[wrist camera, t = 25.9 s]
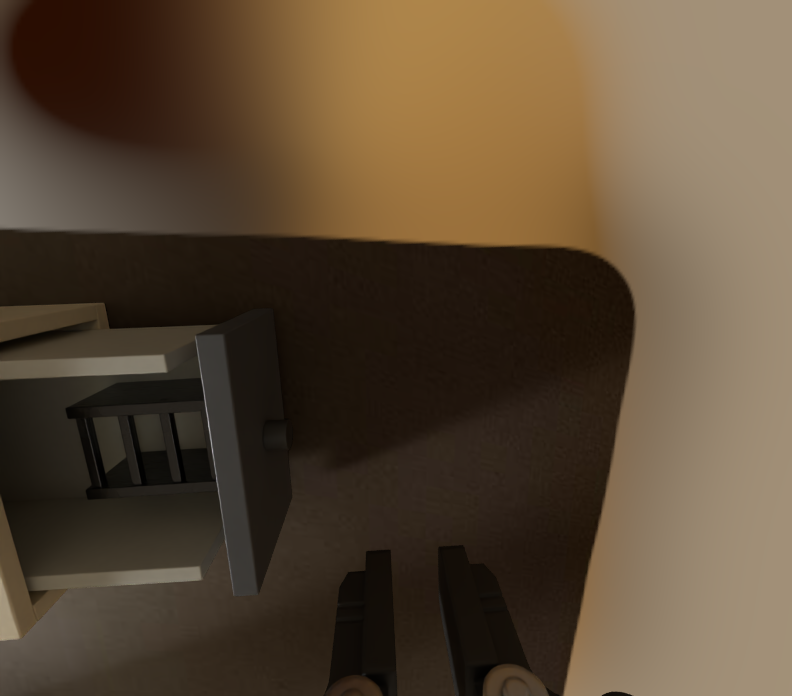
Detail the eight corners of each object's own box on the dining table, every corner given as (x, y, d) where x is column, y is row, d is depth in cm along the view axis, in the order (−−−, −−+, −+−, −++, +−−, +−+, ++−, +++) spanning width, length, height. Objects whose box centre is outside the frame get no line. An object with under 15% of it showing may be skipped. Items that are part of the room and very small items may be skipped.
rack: (116, 382, 23) (64, 408, 19) (239, 375, 23) (212, 399, 20) (133, 461, 24) (87, 500, 20) (250, 453, 25) (226, 491, 21)
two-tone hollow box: (293, 307, 24) (254, 332, 16) (311, 496, 27) (284, 594, 19) (-55, 320, 23) (-270, 353, 15) (1, 513, 26) (-156, 622, 18)
